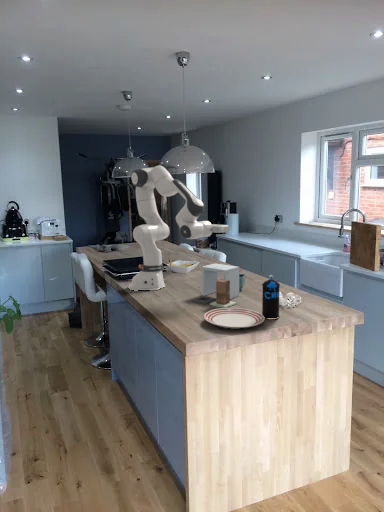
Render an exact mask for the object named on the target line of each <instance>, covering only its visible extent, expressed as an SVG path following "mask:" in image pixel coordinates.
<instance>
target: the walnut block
mask: <svg viewBox="0 0 384 512" xmlns="http://www.w3.org/2000/svg"><path fill="white" fill-rule="evenodd" d="M215 293H216V294H215V295H216V296H215V298H216V303H218V304H222V305H225V304H228V303H230V301H231V299H230V280H225V279H224V278H220V279H217V281H216V292H215Z"/></svg>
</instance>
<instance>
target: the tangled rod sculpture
mask: <svg viewBox="0 0 384 512" xmlns="http://www.w3.org/2000/svg"><path fill="white" fill-rule="evenodd" d="M283 296H284V295H283V294H282V292H281V291H279V306H281V307H282V306H284V307H285V308H288V307H290V306H292V305H293V306H295V305H296V306H298V305H299V304H300V303H302V297H301V296H298V295H295V293H293V292H288V293H286V294H285V297H283ZM290 298H291V299H290ZM288 299H289V300H290V301H289V300H288ZM291 301H292V302H291ZM284 303H285V304H284ZM289 304H290V305H289ZM293 306H292V307H293Z"/></svg>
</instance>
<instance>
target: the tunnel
mask: <svg viewBox="0 0 384 512" xmlns="http://www.w3.org/2000/svg"><path fill="white" fill-rule="evenodd" d="M218 273H223V279H225V280H230V300H231V299H234V298H237V297H240V291H239V274H240V266H238V265H237V266H235V265H228V264H223V263H222V264H221V263H217V262H216V263H211V264H207V265H203V266H202V265H201V296H207V295H210V294H211V295H212V294H214V293H216V281H217V280H218Z"/></svg>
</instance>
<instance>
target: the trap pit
mask: <svg viewBox="0 0 384 512" xmlns="http://www.w3.org/2000/svg"><path fill="white" fill-rule="evenodd" d="M215 301H216V297H212V296H207V295H205V296H203V295H201V296H199V297H194V298H192V302H194V303H197V304H198V303H199V304H202V305H207V304H210V303H212V302H215Z"/></svg>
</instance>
